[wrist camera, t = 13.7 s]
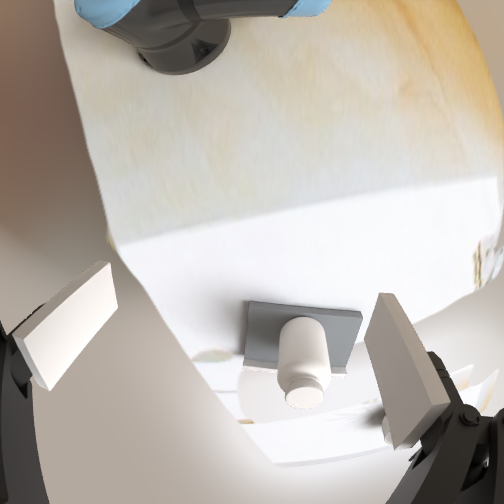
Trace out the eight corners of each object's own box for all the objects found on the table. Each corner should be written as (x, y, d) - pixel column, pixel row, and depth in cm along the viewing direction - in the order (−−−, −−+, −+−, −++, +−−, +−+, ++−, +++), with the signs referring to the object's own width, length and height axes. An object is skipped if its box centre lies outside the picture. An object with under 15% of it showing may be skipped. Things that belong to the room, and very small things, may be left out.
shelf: (250, 300, 48) (247, 313, 45) (360, 311, 47) (365, 324, 43) (244, 357, 53) (242, 371, 50) (341, 365, 52) (344, 379, 48)
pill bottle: (272, 343, 49) (267, 407, 35) (290, 309, 46) (291, 373, 32) (312, 355, 49) (316, 418, 35) (332, 323, 46) (345, 386, 32)
